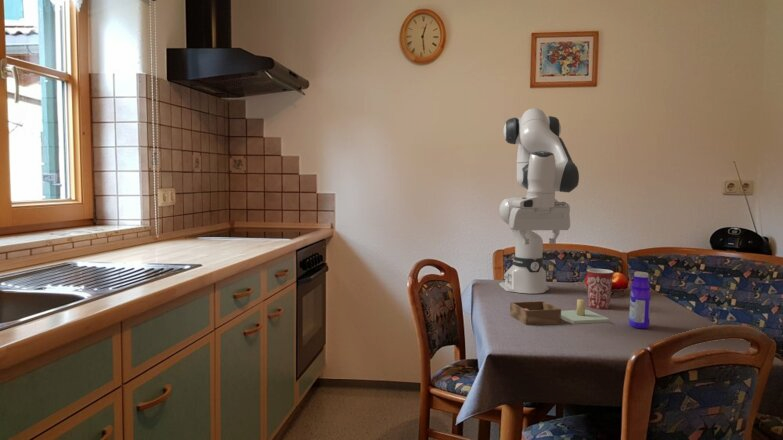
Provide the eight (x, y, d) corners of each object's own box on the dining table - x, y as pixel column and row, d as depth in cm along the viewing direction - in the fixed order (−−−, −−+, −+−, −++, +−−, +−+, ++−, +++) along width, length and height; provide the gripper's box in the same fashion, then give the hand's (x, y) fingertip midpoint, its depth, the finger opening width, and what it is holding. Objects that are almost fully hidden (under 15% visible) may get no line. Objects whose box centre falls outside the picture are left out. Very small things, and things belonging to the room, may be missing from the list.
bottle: (626, 323, 181) (629, 270, 180) (644, 324, 180) (647, 271, 179) (632, 329, 174) (635, 274, 173) (651, 330, 173) (654, 274, 172)
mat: (550, 315, 190) (550, 313, 190) (587, 313, 193) (587, 312, 193) (572, 326, 177) (572, 324, 176) (611, 324, 180) (611, 322, 179)
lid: (552, 313, 190) (553, 296, 189) (587, 312, 193) (587, 295, 192) (573, 323, 177) (573, 305, 177) (609, 322, 180) (610, 303, 179)
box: (509, 317, 187) (510, 302, 187) (542, 315, 190) (543, 301, 189) (525, 326, 175) (526, 310, 175) (560, 324, 178) (561, 309, 177)
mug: (610, 311, 198) (612, 273, 197) (584, 308, 202) (585, 271, 201) (613, 304, 209) (615, 268, 208) (588, 301, 213) (589, 266, 212)
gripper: (564, 201, 185) (563, 242, 186) (507, 201, 181) (506, 243, 182) (574, 202, 179) (573, 244, 180) (515, 202, 175) (514, 245, 176)
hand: (539, 244), depth 181 cm, fingers open, 8 cm apart
